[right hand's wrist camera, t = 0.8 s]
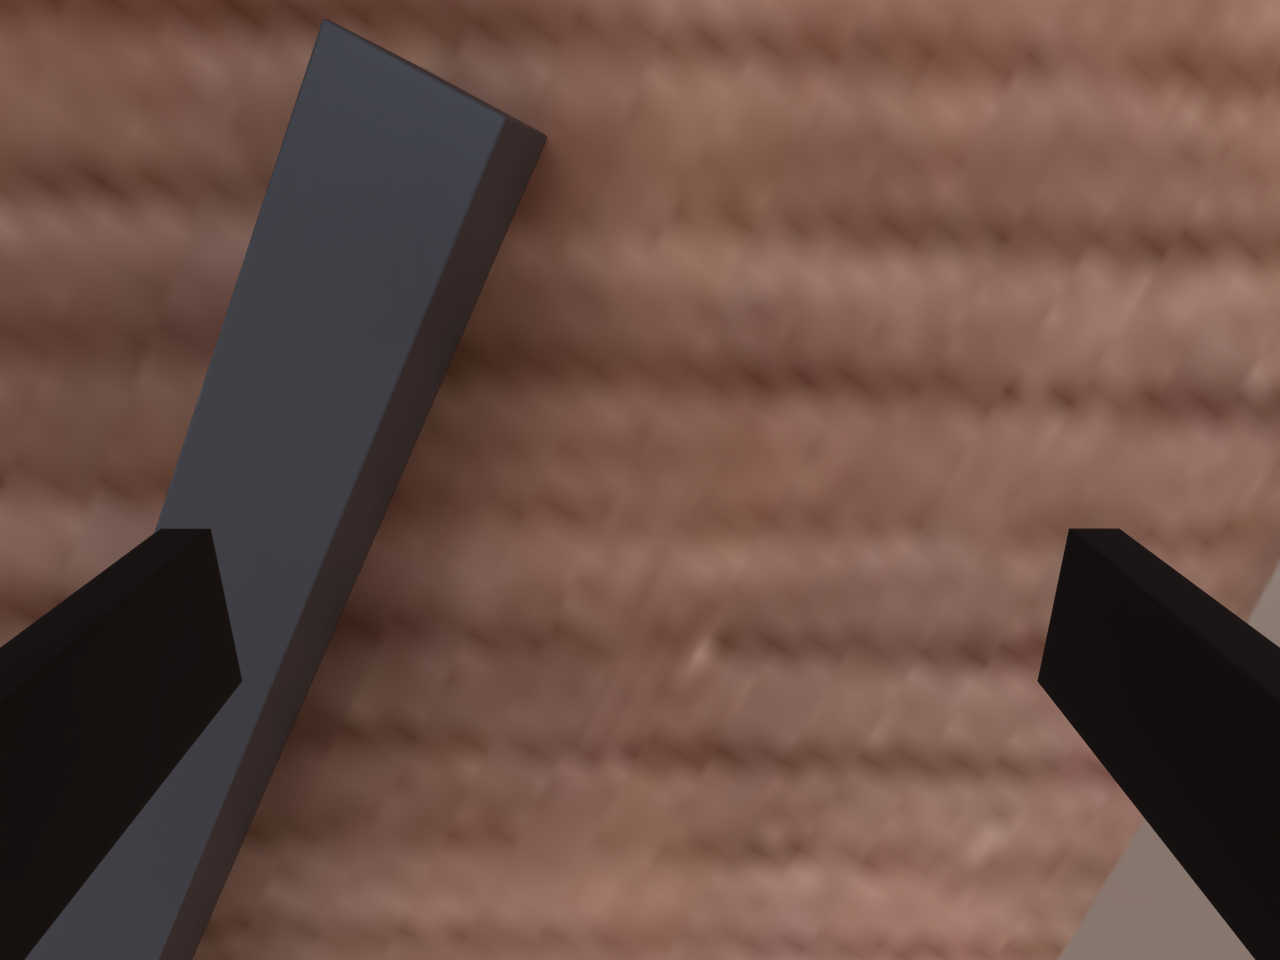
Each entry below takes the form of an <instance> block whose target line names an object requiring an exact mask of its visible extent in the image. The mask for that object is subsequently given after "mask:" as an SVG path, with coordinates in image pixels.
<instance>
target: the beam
mask: <svg viewBox="0 0 1280 960" xmlns="http://www.w3.org/2000/svg"><path fill="white" fill-rule="evenodd" d="M546 140H547V136H546V135H545V134H543V133H541V132H539V131H537V130H535V129H533V128H532V127H530V126H528V125H526V124H524V123H522V122H521V121H519V120H517V119H515V118H513V117H511V116H509V115H508V114H506V113H504V112H502V111H500V110H498V109H497V108H495V107H493V106H491V105H489V104H487V103H485V102H484V101H482V100H480V99H478V98H476V97H474V96H473V95H471V94H469V93H467V92H465V91H463V90H461V89H460V88H458V87H456V86H454V85H452V84H450V83H449V82H447V81H445V80H443V79H441V78H439V77H437V76H436V75H434V74H432V73H430V72H428V71H426V70H425V69H423V68H421V67H419V66H417V65H415V64H413V63H411V62H409V61H407V60H405V59H403V58H401V57H400V56H398V55H396V54H394V53H392V52H390V51H388V50H386V49H384V48H382V47H380V46H378V45H376V44H374V43H372V42H370V41H368V40H367V39H365V38H363V37H361V36H359V35H357V34H355V33H353V32H351V31H349V30H347V29H345V28H343V27H341V26H339V25H337V24H336V23H334V22H332V21H330V20H328V19H324V20H323V21H322V24H321V27H320V30H319V33H318V36H317V39H316V42H315V45H314V48H313V51H312V54H311V57H310V60H309V63H308V67H307V70H306V73H305V76H304V79H303V82H302V85H301V88H300V91H299V94H298V97H297V100H296V103H295V106H294V109H293V112H292V115H291V118H290V121H289V124H288V127H287V131H286V134H285V137H284V140H283V143H282V146H281V149H280V152H279V155H278V158H277V161H276V164H275V167H274V170H273V173H272V176H271V179H270V182H269V185H268V188H267V191H266V195H265V198H264V201H263V204H262V207H261V210H260V213H259V216H258V219H257V222H256V225H255V228H254V231H253V234H252V237H251V240H250V243H249V246H248V249H247V252H246V255H245V259H244V262H243V265H242V268H241V271H240V274H239V277H238V280H237V283H236V286H235V289H234V292H233V295H232V298H231V301H230V304H229V307H228V310H227V313H226V316H225V319H224V323H223V326H222V329H221V332H220V335H219V338H218V341H217V344H216V347H215V350H214V353H213V356H212V359H211V362H210V365H209V368H208V371H207V374H206V377H205V380H204V383H203V387H202V390H201V393H200V396H199V399H198V402H197V405H196V408H195V411H194V414H193V417H192V420H191V423H190V426H189V429H188V432H187V435H186V438H185V441H184V444H183V447H182V451H181V454H180V457H179V460H178V463H177V466H176V469H175V472H174V475H173V478H172V481H171V484H170V487H169V490H168V493H167V496H166V499H165V502H164V505H163V508H162V511H161V514H160V518H159V521H158V524H157V527H156V530H155V533H156V532H157V531H158V530H160V529H211V532H212V536H213V541H214V546H215V551H216V556H217V561H218V566H219V570H220V575H221V580H222V585H223V590H224V595H225V599H226V604H227V609H228V614H229V619H230V624H231V628H232V633H233V638H234V643H235V648H236V653H237V658H238V662H239V667H240V672H241V677H242V682H241V684H240V685H239V686H238V687H237V689H236V690H235V691H234V693H233V694H232V695H231V696H230V698H229V699H228V700H227V702H226V703H225V704H224V705H223V707H222V708H221V709H220V710H219V712H218V713H217V714H216V716H215V717H214V718H213V719H212V721H211V722H210V723H209V725H208V726H207V727H206V728H205V730H204V731H203V732H202V733H201V735H200V736H199V737H198V739H197V740H196V741H195V742H194V744H193V745H192V746H191V748H190V749H189V750H188V751H187V753H186V754H185V755H184V756H183V758H182V759H181V760H180V762H179V763H178V764H177V765H176V767H175V768H174V769H173V771H172V772H171V773H170V774H169V776H168V777H167V778H166V780H165V781H164V782H163V783H162V785H161V786H160V787H159V788H158V790H157V791H156V792H155V794H154V795H153V796H152V797H151V799H150V800H149V801H148V803H147V804H146V805H145V806H144V808H143V809H142V810H141V811H140V813H139V814H138V815H137V817H136V818H135V819H134V820H133V822H132V823H131V824H130V826H129V827H128V828H127V829H126V831H125V832H124V833H123V834H122V836H121V837H120V838H119V840H118V841H117V842H116V843H115V845H114V846H113V847H112V849H111V850H110V851H109V852H108V854H107V855H106V856H105V857H104V859H103V860H102V861H101V863H100V864H99V865H98V866H97V868H96V869H95V870H94V872H93V873H92V874H91V875H90V877H89V878H88V879H87V880H86V882H85V883H84V884H83V886H82V887H81V888H80V889H79V891H78V892H77V893H76V895H75V896H74V897H73V898H72V900H71V901H70V902H69V904H68V905H67V906H66V907H65V909H64V910H63V911H62V912H61V914H60V915H59V916H58V918H57V919H56V920H55V921H54V923H53V924H52V925H51V927H50V928H49V929H48V930H47V932H46V933H45V934H44V935H43V937H42V938H41V939H40V941H39V942H38V943H37V944H36V946H35V947H34V948H33V950H32V951H31V952H30V953H29V955H28V956H27V957H26V958H25V960H192V958H193V956H194V953H195V951H196V949H197V946H198V944H199V942H200V940H201V937H202V935H203V933H204V930H205V928H206V926H207V923H208V921H209V919H210V916H211V914H212V912H213V909H214V907H215V905H216V903H217V900H218V898H219V896H220V893H221V891H222V889H223V886H224V884H225V882H226V879H227V877H228V875H229V872H230V870H231V868H232V866H233V863H234V861H235V859H236V856H237V854H238V852H239V849H240V847H241V845H242V842H243V840H244V838H245V835H246V833H247V831H248V829H249V826H250V824H251V822H252V819H253V817H254V815H255V812H256V810H257V808H258V805H259V803H260V801H261V799H262V796H263V794H264V792H265V789H266V787H267V785H268V782H269V780H270V778H271V775H272V773H273V771H274V768H275V766H276V764H277V762H278V759H279V757H280V755H281V752H282V750H283V748H284V745H285V743H286V741H287V738H288V736H289V734H290V731H291V729H292V727H293V725H294V722H295V720H296V718H297V715H298V713H299V711H300V708H301V706H302V704H303V701H304V699H305V697H306V694H307V692H308V690H309V688H310V685H311V683H312V681H313V678H314V676H315V674H316V671H317V669H318V667H319V664H320V662H321V660H322V657H323V655H324V653H325V651H326V648H327V646H328V644H329V641H330V639H331V637H332V634H333V632H334V630H335V627H336V625H337V623H338V620H339V618H340V616H341V614H342V611H343V609H344V607H345V604H346V602H347V600H348V597H349V595H350V593H351V590H352V588H353V586H354V583H355V581H356V579H357V577H358V574H359V572H360V570H361V567H362V565H363V563H364V560H365V558H366V556H367V553H368V551H369V549H370V546H371V544H372V542H373V540H374V537H375V535H376V533H377V530H378V528H379V526H380V523H381V521H382V519H383V516H384V514H385V512H386V509H387V507H388V505H389V503H390V500H391V498H392V496H393V493H394V491H395V489H396V486H397V484H398V482H399V479H400V477H401V475H402V472H403V470H404V468H405V466H406V463H407V461H408V459H409V456H410V454H411V452H412V449H413V447H414V445H415V442H416V440H417V438H418V435H419V433H420V431H421V429H422V426H423V424H424V422H425V419H426V417H427V415H428V412H429V410H430V408H431V405H432V403H433V401H434V398H435V396H436V394H437V392H438V389H439V387H440V385H441V382H442V380H443V378H444V375H445V373H446V371H447V368H448V366H449V364H450V361H451V359H452V357H453V355H454V352H455V350H456V348H457V345H458V343H459V341H460V338H461V336H462V334H463V331H464V329H465V327H466V325H467V322H468V320H469V318H470V315H471V313H472V311H473V308H474V306H475V304H476V301H477V299H478V297H479V294H480V292H481V290H482V288H483V285H484V283H485V281H486V278H487V276H488V274H489V271H490V269H491V267H492V264H493V262H494V260H495V257H496V255H497V253H498V251H499V248H500V246H501V244H502V241H503V239H504V237H505V234H506V232H507V230H508V227H509V225H510V223H511V220H512V218H513V216H514V214H515V211H516V209H517V207H518V204H519V202H520V200H521V197H522V195H523V193H524V190H525V188H526V186H527V183H528V181H529V179H530V177H531V174H532V172H533V170H534V167H535V165H536V163H537V160H538V158H539V156H540V153H541V151H542V149H543V146H544V144H545V142H546Z"/></svg>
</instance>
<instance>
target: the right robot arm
mask: <svg viewBox="0 0 1280 960" xmlns="http://www.w3.org/2000/svg"><path fill="white" fill-rule="evenodd" d="M241 682H242V677H241V672H240V667H239V662H238V658H237V653H236V648H235V643H234V638H233V633H232V628H231V624H230V619H229V614H228V609H227V604H226V599H225V595H224V590H223V585H222V580H221V575H220V570H219V566H218V561H217V556H216V551H215V546H214V541H213V536H212V532H211V529H160V530H158V531H157V532H156V533H154V534H153V535H152V536H150V537H149V538H148V539H146V540H145V541H143V542H142V543H141V544H139V545H138V546H137V547H135V548H134V549H133V550H131V551H130V552H129V553H127V554H126V555H125V556H123V557H122V558H121V559H119V560H118V561H117V562H115V563H114V564H112V565H111V566H110V567H108V568H107V569H106V570H104V571H103V572H102V573H100V574H99V575H98V576H96V577H95V578H94V579H92V580H91V581H90V582H88V583H87V584H86V585H84V586H83V587H82V588H80V589H79V590H77V591H76V592H75V593H73V594H72V595H71V596H69V597H68V598H67V599H65V600H64V601H63V602H61V603H60V604H59V605H57V606H56V607H55V608H53V609H52V610H51V611H49V612H48V613H46V614H45V615H44V616H42V617H41V618H40V619H38V620H37V621H36V622H34V623H33V624H32V625H30V626H29V627H28V628H26V629H25V630H24V631H22V632H21V633H20V634H18V635H17V636H15V637H14V638H13V639H11V640H10V641H9V642H7V643H6V644H5V645H3V646H2V647H1V648H0V960H25V958H26V957H27V956H28V955H29V953H30V952H31V951H32V950H33V948H34V947H35V946H36V944H37V943H38V942H39V941H40V939H41V938H42V937H43V935H44V934H45V933H46V932H47V930H48V929H49V928H50V927H51V925H52V924H53V923H54V921H55V920H56V919H57V918H58V916H59V915H60V914H61V912H62V911H63V910H64V909H65V907H66V906H67V905H68V904H69V902H70V901H71V900H72V898H73V897H74V896H75V895H76V893H77V892H78V891H79V889H80V888H81V887H82V886H83V884H84V883H85V882H86V880H87V879H88V878H89V877H90V875H91V874H92V873H93V872H94V870H95V869H96V868H97V866H98V865H99V864H100V863H101V861H102V860H103V859H104V857H105V856H106V855H107V854H108V852H109V851H110V850H111V849H112V847H113V846H114V845H115V843H116V842H117V841H118V840H119V838H120V837H121V836H122V834H123V833H124V832H125V831H126V829H127V828H128V827H129V826H130V824H131V823H132V822H133V820H134V819H135V818H136V817H137V815H138V814H139V813H140V811H141V810H142V809H143V808H144V806H145V805H146V804H147V803H148V801H149V800H150V799H151V797H152V796H153V795H154V794H155V792H156V791H157V790H158V788H159V787H160V786H161V785H162V783H163V782H164V781H165V780H166V778H167V777H168V776H169V774H170V773H171V772H172V771H173V769H174V768H175V767H176V765H177V764H178V763H179V762H180V760H181V759H182V758H183V756H184V755H185V754H186V753H187V751H188V750H189V749H190V748H191V746H192V745H193V744H194V742H195V741H196V740H197V739H198V737H199V736H200V735H201V733H202V732H203V731H204V730H205V728H206V727H207V726H208V725H209V723H210V722H211V721H212V719H213V718H214V717H215V716H216V714H217V713H218V712H219V710H220V709H221V708H222V707H223V705H224V704H225V703H226V702H227V700H228V699H229V698H230V696H231V695H232V694H233V693H234V691H235V690H236V689H237V687H238V686H239V685H240V684H241ZM1038 682H1039V684H1040V685H1041V686H1042V687H1043V689H1044V690H1045V691H1046V693H1047V694H1048V695H1049V696H1050V698H1051V699H1052V700H1053V702H1054V703H1055V704H1056V705H1057V707H1058V708H1059V709H1060V710H1061V712H1062V713H1063V714H1064V716H1065V717H1066V718H1067V719H1068V721H1069V722H1070V723H1071V725H1072V726H1073V727H1074V728H1075V730H1076V731H1077V732H1078V733H1079V735H1080V736H1081V737H1082V739H1083V740H1084V741H1085V742H1086V744H1087V745H1088V746H1089V748H1090V749H1091V750H1092V751H1093V753H1094V754H1095V755H1096V756H1097V758H1098V759H1099V760H1100V762H1101V763H1102V764H1103V765H1104V767H1105V768H1106V769H1107V771H1108V772H1109V773H1110V774H1111V776H1112V777H1113V778H1114V780H1115V781H1116V782H1117V783H1118V785H1119V786H1120V787H1121V788H1122V790H1123V791H1124V792H1125V794H1126V795H1127V796H1128V797H1129V799H1130V800H1131V801H1132V803H1133V804H1134V805H1135V806H1136V808H1137V809H1138V810H1139V811H1140V813H1141V814H1142V815H1143V817H1144V818H1145V819H1146V820H1147V822H1148V823H1149V824H1150V825H1151V827H1152V828H1153V829H1154V831H1155V832H1156V833H1157V834H1158V836H1159V837H1160V838H1161V840H1162V841H1163V842H1164V843H1165V845H1166V846H1167V847H1168V848H1169V850H1170V851H1171V852H1172V854H1173V855H1174V856H1175V857H1176V859H1177V860H1178V861H1179V863H1180V864H1181V865H1182V866H1183V868H1184V869H1185V870H1186V872H1187V873H1188V874H1189V875H1190V877H1191V878H1192V879H1193V880H1194V882H1195V883H1196V884H1197V886H1198V887H1199V888H1200V889H1201V891H1202V892H1203V893H1204V895H1205V896H1206V897H1207V898H1208V900H1209V901H1210V902H1211V904H1212V905H1213V906H1214V907H1215V909H1216V910H1217V911H1218V912H1219V914H1220V915H1221V916H1222V918H1223V919H1224V920H1225V921H1226V923H1227V924H1228V925H1229V927H1230V928H1231V929H1232V930H1233V932H1234V933H1235V934H1236V935H1237V937H1238V938H1239V939H1240V941H1241V942H1242V943H1243V944H1244V946H1245V947H1246V948H1247V950H1248V951H1249V952H1250V953H1251V955H1252V956H1253V957H1254V958H1255V960H1280V648H1279V647H1278V646H1277V645H1275V644H1274V643H1273V642H1271V641H1270V640H1268V639H1267V638H1266V637H1265V636H1263V635H1262V634H1260V633H1259V632H1258V631H1256V630H1255V629H1254V628H1252V627H1251V626H1250V625H1248V624H1247V623H1246V622H1244V621H1243V620H1242V619H1240V618H1239V617H1238V616H1236V615H1235V614H1234V613H1232V612H1231V611H1229V610H1228V609H1227V608H1225V607H1224V606H1223V605H1221V604H1220V603H1219V602H1217V601H1216V600H1215V599H1213V598H1212V597H1211V596H1209V595H1208V594H1207V593H1205V592H1204V591H1203V590H1201V589H1200V588H1198V587H1197V586H1196V585H1194V584H1193V583H1192V582H1190V581H1189V580H1188V579H1186V578H1185V577H1184V576H1182V575H1181V574H1180V573H1178V572H1177V571H1176V570H1174V569H1173V568H1172V567H1170V566H1169V565H1168V564H1166V563H1165V562H1163V561H1162V560H1161V559H1159V558H1158V557H1157V556H1155V555H1154V554H1153V553H1151V552H1150V551H1149V550H1147V549H1146V548H1145V547H1143V546H1142V545H1141V544H1139V543H1138V542H1137V541H1135V540H1134V539H1132V538H1131V537H1130V536H1128V535H1127V534H1126V533H1124V532H1123V531H1122V530H1120V529H1069V532H1068V536H1067V541H1066V546H1065V551H1064V556H1063V561H1062V566H1061V570H1060V575H1059V580H1058V585H1057V590H1056V595H1055V599H1054V604H1053V609H1052V614H1051V619H1050V624H1049V628H1048V633H1047V638H1046V643H1045V648H1044V653H1043V658H1042V662H1041V667H1040V672H1039V677H1038Z"/></svg>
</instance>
